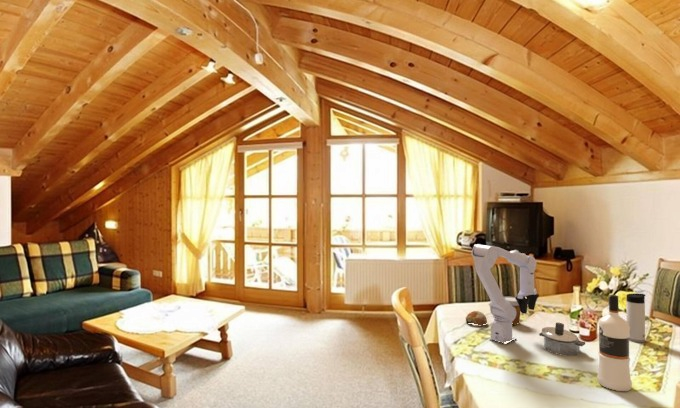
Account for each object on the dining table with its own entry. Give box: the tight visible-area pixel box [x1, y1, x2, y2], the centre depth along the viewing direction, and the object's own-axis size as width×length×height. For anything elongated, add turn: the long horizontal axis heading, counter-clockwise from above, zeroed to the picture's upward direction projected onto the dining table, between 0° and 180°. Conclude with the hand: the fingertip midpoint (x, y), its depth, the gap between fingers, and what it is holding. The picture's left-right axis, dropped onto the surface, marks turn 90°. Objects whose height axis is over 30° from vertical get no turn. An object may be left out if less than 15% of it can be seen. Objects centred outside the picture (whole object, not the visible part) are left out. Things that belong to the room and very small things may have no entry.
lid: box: [541, 322, 578, 342], centre depth 154 cm, size 13×13×6 cm
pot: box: [538, 331, 586, 357], centre depth 154 cm, size 12×16×5 cm
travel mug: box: [625, 292, 646, 344], centre depth 162 cm, size 6×7×20 cm
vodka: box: [596, 294, 633, 392], centre depth 124 cm, size 9×9×30 cm
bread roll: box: [465, 310, 488, 325], centre depth 187 cm, size 10×10×8 cm
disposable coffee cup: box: [503, 296, 521, 324], centre depth 187 cm, size 10×10×12 cm
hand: (527, 311), depth 171 cm, fingers open, 7 cm apart
